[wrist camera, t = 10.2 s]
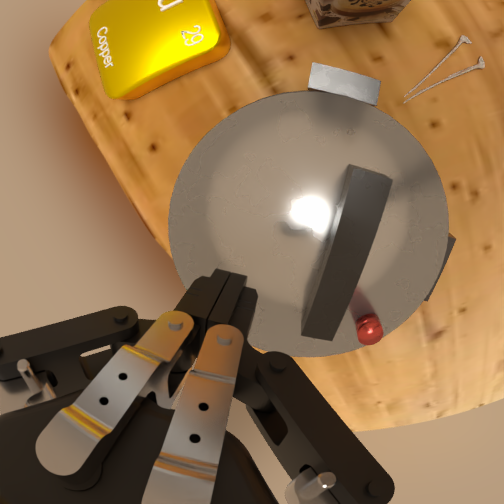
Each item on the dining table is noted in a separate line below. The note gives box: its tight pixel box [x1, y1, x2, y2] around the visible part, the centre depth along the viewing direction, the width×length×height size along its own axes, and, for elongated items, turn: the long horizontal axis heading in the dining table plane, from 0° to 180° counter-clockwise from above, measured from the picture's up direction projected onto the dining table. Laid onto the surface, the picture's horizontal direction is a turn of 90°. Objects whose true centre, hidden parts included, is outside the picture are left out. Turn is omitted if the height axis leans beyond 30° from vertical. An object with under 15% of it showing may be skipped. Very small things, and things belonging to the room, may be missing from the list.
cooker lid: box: [168, 92, 449, 357], centre depth 18 cm, size 20×20×3 cm
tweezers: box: [404, 35, 485, 103], centre depth 21 cm, size 17×5×2 cm, turn 132°
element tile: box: [89, 0, 231, 100], centre depth 22 cm, size 15×15×5 cm
